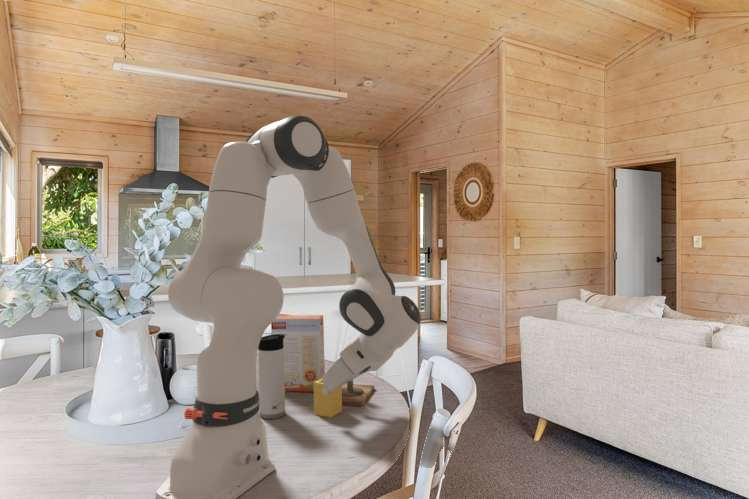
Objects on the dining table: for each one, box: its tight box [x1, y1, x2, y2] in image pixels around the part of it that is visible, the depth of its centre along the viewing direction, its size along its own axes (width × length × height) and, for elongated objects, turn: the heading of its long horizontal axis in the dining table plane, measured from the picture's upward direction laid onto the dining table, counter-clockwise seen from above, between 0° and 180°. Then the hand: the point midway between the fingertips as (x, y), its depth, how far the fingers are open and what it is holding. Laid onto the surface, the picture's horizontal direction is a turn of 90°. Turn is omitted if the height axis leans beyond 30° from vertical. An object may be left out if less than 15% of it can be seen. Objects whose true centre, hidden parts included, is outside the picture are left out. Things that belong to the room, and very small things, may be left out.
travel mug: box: [257, 334, 286, 420], centre depth 129 cm, size 6×7×20 cm
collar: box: [313, 379, 343, 419], centre depth 130 cm, size 5×5×8 cm
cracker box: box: [270, 314, 326, 393], centre depth 148 cm, size 14×6×21 cm, turn 84°
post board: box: [342, 379, 375, 407], centre depth 142 cm, size 14×10×11 cm
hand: (335, 386), depth 129 cm, fingers open, 8 cm apart
